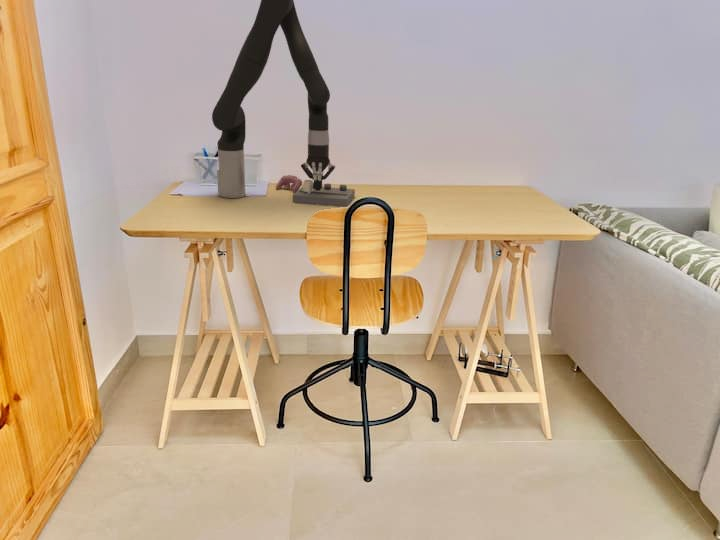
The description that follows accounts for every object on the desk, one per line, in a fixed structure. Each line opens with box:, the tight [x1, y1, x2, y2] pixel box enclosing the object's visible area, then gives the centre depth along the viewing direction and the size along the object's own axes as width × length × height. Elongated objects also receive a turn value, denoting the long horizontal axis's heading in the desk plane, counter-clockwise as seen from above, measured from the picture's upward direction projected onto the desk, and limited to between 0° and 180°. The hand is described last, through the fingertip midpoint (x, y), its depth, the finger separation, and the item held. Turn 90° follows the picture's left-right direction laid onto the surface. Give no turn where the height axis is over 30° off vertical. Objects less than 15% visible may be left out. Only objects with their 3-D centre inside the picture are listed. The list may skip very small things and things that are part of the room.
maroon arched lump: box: [275, 174, 303, 194], centre depth 217 cm, size 10×5×7 cm, turn 58°
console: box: [292, 181, 356, 207], centre depth 206 cm, size 20×16×5 cm
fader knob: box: [302, 178, 314, 192], centre depth 203 cm, size 2×4×4 cm, turn 171°
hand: (318, 190), depth 204 cm, fingers closed
